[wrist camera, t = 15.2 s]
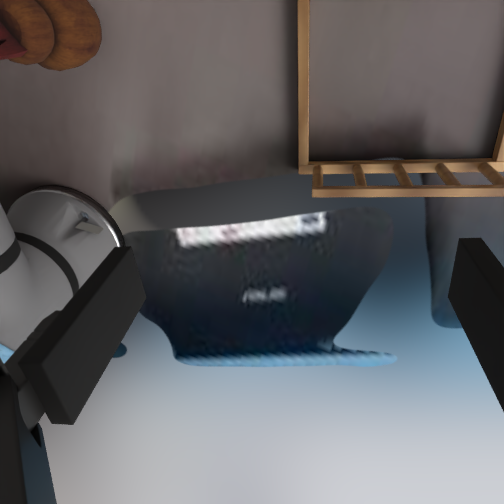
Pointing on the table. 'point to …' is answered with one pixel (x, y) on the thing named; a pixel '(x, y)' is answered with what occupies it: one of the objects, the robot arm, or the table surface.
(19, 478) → the robot arm
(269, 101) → the table surface
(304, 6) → the drying rack
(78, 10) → the wooden figurine
